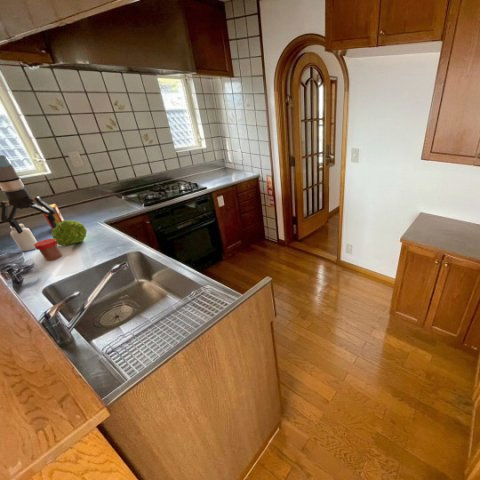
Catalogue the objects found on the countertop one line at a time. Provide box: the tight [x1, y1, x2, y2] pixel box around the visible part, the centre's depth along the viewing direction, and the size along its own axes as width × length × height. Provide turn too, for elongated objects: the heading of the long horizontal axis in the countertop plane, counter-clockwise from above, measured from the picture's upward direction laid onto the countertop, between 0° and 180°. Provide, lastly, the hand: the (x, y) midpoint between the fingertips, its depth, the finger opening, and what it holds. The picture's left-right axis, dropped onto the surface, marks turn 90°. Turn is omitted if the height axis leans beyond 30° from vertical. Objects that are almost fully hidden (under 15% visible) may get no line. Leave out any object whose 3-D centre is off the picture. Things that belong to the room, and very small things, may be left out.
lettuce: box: [51, 219, 88, 247], centre depth 160 cm, size 15×25×16 cm
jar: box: [38, 244, 64, 262], centre depth 140 cm, size 7×7×11 cm
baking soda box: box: [41, 203, 65, 230], centre depth 179 cm, size 10×6×16 cm
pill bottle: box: [9, 223, 38, 252], centre depth 153 cm, size 8×8×15 cm
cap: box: [34, 238, 58, 251], centre depth 138 cm, size 8×8×2 cm
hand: (38, 229), depth 134 cm, fingers open, 13 cm apart
